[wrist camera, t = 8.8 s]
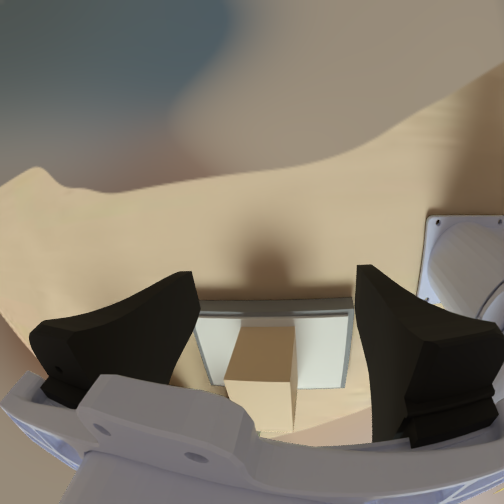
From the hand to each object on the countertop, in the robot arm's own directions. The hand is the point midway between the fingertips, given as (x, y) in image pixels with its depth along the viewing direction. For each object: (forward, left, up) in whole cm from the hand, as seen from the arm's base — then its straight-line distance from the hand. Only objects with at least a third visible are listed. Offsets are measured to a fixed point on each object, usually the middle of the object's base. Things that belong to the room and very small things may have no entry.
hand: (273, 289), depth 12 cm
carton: (+2, +12, -8) cm, 14 cm away
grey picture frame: (+2, +12, -10) cm, 16 cm away
